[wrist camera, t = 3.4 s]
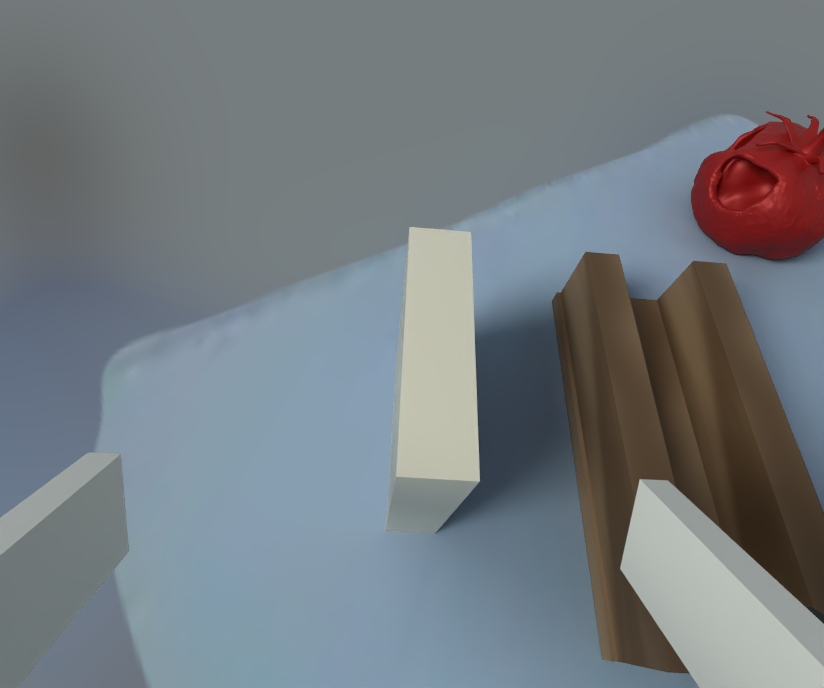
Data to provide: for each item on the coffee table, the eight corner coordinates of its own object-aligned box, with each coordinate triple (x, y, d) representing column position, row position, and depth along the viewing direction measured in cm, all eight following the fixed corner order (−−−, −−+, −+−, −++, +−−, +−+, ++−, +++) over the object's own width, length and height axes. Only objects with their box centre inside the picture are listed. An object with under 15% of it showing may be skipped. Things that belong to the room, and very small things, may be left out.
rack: (680, 311, 32) (730, 264, 27) (790, 666, 21) (895, 680, 17) (551, 301, 31) (581, 251, 27) (602, 659, 21) (662, 672, 17)
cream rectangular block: (437, 358, 28) (470, 232, 19) (434, 533, 23) (479, 481, 14) (396, 355, 28) (409, 226, 19) (385, 531, 23) (396, 476, 14)
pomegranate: (794, 205, 38) (909, 99, 30) (802, 292, 33) (943, 192, 25) (678, 167, 39) (760, 53, 31) (668, 246, 34) (763, 135, 26)
